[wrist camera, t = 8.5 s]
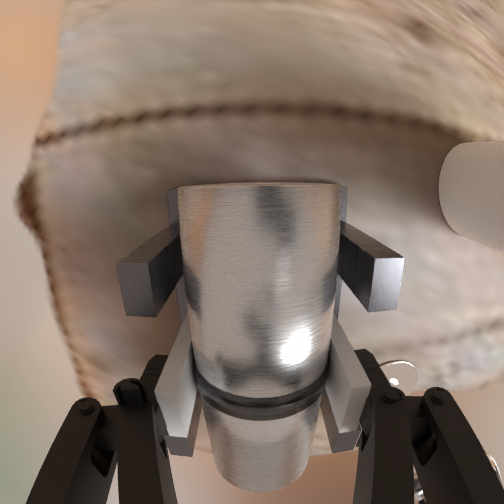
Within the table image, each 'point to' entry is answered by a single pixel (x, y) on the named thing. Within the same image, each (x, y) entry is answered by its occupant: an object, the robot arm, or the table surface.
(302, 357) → the tube
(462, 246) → the table surface
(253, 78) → the table surface
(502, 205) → the cylindrical container
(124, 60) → the table surface
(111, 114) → the table surface
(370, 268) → the rail
